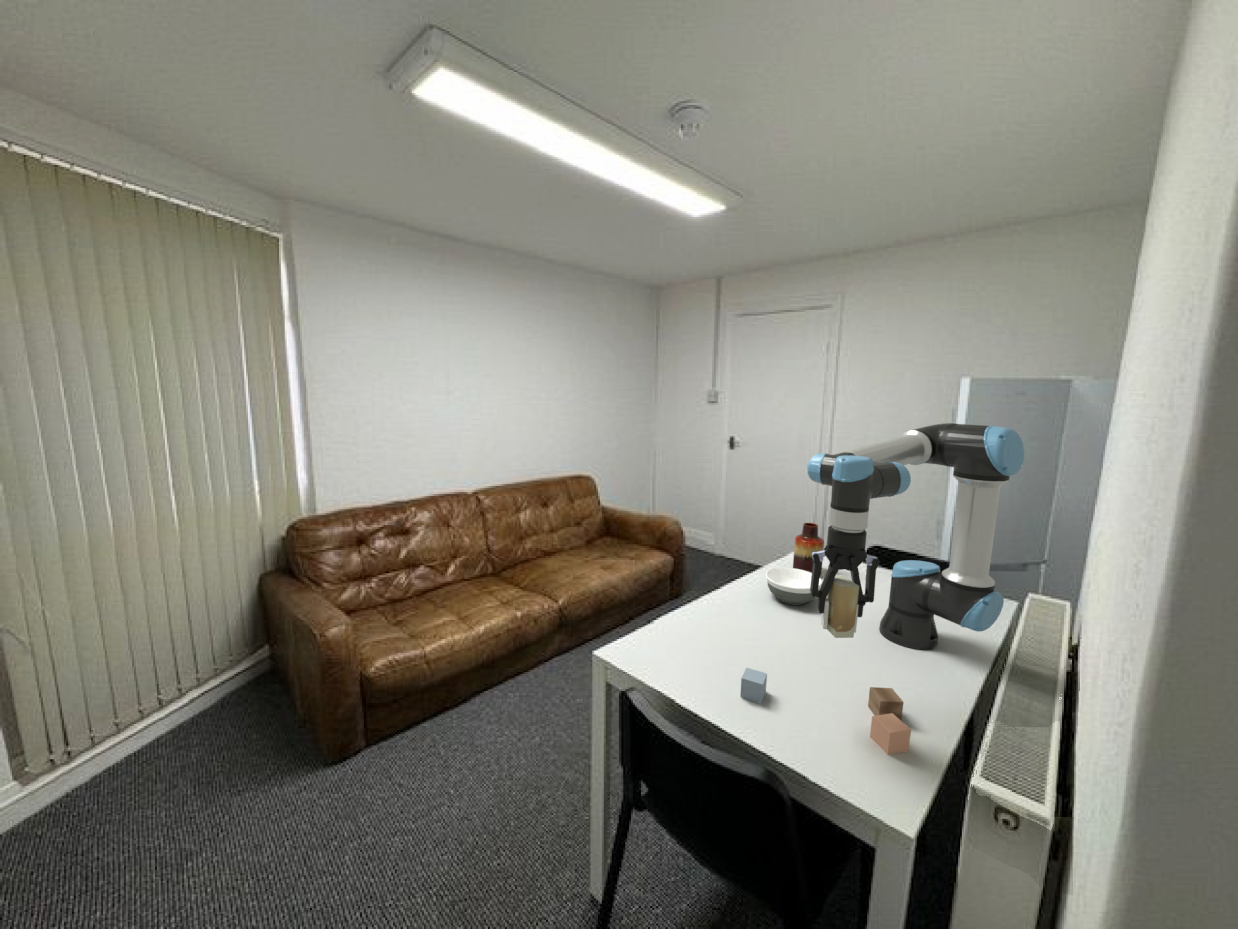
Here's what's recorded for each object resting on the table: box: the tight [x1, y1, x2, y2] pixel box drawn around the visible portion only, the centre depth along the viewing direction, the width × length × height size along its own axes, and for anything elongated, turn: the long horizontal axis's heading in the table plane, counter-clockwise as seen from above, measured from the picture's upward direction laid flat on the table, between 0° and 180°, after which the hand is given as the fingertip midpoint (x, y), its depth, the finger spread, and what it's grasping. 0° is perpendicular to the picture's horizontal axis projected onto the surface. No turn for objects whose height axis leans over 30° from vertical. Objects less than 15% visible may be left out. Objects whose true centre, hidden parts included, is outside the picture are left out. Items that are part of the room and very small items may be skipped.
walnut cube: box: [867, 686, 904, 721], centre depth 108 cm, size 5×5×5 cm
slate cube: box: [740, 667, 768, 705], centre depth 115 cm, size 5×5×5 cm
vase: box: [792, 522, 825, 577], centre depth 190 cm, size 11×11×20 cm
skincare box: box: [826, 574, 859, 639], centre depth 105 cm, size 6×4×12 cm
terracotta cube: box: [869, 713, 912, 755], centre depth 99 cm, size 5×5×5 cm
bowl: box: [765, 567, 823, 606], centre depth 167 cm, size 19×19×8 cm
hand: (838, 627), depth 106 cm, fingers closed on skincare box, 5 cm apart
